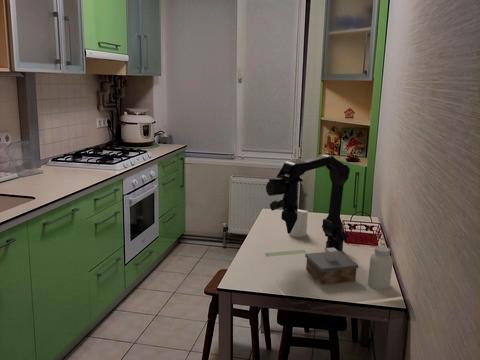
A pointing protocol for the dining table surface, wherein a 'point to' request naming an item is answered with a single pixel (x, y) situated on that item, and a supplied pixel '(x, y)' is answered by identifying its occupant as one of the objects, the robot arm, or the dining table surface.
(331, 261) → the lid
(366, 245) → the dining table surface
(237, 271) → the dining table surface
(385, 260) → the pill bottle
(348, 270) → the storage box
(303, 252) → the mat
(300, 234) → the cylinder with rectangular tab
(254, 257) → the dining table surface
